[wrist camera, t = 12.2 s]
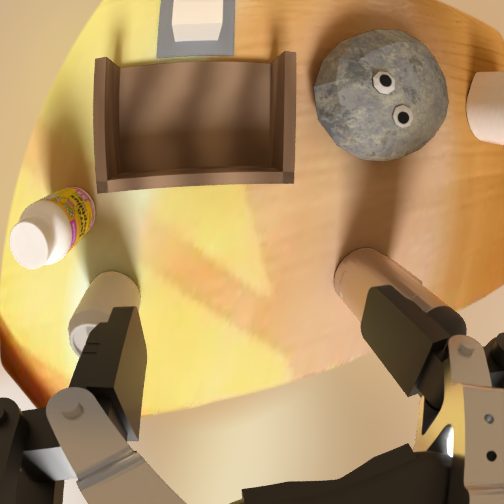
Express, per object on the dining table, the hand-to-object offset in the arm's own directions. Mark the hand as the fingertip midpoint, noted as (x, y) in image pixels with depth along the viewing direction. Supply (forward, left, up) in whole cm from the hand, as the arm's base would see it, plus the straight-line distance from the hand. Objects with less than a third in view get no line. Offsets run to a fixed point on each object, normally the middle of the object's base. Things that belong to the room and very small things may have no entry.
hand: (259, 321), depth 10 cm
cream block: (+2, -20, -28) cm, 34 cm away
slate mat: (+2, -21, -28) cm, 35 cm away
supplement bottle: (+18, +2, -28) cm, 34 cm away
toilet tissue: (-47, -16, -28) cm, 57 cm away
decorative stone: (-21, -13, -28) cm, 38 cm away
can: (+14, +14, -28) cm, 35 cm away
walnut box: (+2, -8, -28) cm, 29 cm away
